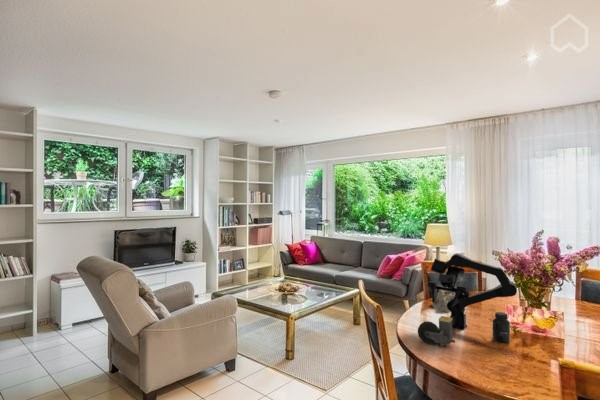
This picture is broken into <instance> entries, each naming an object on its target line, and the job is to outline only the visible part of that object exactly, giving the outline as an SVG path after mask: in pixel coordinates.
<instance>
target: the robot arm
mask: <svg viewBox="0 0 600 400" xmlns="http://www.w3.org/2000/svg"><path fill="white" fill-rule="evenodd" d="M464 268H467V269H472V270H476V271H478V272H482V273H485V274H489V275H491V276H495V277H496V278H497V281H498V283H499V284H498V285H497V286H495V287H494V288H491V289H488V290H487V289H486V290H483V291H479V292H476V293H473V294H470V293H469V291H468V288H467V287H466V286H462V285H458V281H459V277H460V274H461V275H465V271H466V270H465V269H464ZM430 271H431V272H433V273H436V274H438V279H437V281H439V282H440V285H438V283H437V282H436V281H428V282H427V284H426V286H427V288H428V290H429V291H430V292H431V301H432V303H434V302H435V300H436V297H437V295H438V293H437V292H438V291H439V290H444V291H449V292H455V296H452V297H451V299H450V300H449V301H448V303H447V308H448V310H449V311H451V312H450V315H449V317H450V318H452V319H453V320H452V328H453V329H454V328H455V329H459V330H465V329H466V328H467V327H468V324H467V315H466V313H465V312H466V307H468V306H472V305H474V304H475V305H476V304H477V303H481V302H485V301H489V300H492V299H496V298H509V297H514V296H516V294H517V292H518V289H517V286H516V283H514V282H513V281H511V280H510V279H509V277H508V275H507V274H506V273H505V272H504V269H503V268H502V267H499V266H498V267H497V266H495V265H491V264H488V263H487V264H486V263H484V262H480V261H477V260H474V259H471V258H469V257H467V256H465V255H463V254H461V253H453V254H452V256H451V257H450V259H449V260H447V261H444V260H441V259H438V258H434V261H433V263H432V265H431V268H430ZM457 285H458V286H457ZM456 286H457V287H456Z"/></svg>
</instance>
